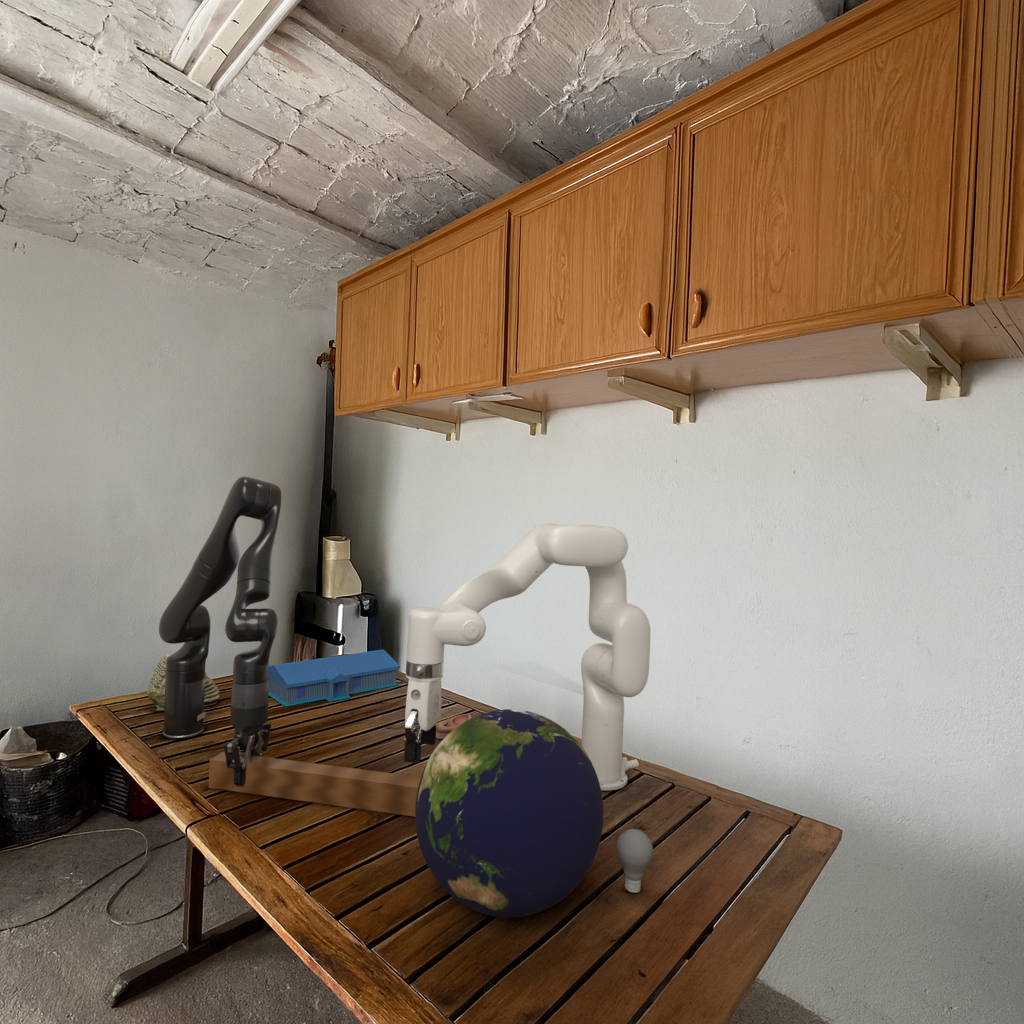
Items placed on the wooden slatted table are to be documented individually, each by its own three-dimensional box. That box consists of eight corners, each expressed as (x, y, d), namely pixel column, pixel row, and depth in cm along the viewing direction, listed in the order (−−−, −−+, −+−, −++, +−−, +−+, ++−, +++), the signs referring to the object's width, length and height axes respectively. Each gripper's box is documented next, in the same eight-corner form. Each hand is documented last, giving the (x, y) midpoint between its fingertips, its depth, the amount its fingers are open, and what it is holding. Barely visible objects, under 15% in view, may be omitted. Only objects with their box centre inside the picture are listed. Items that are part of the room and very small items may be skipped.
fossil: (144, 707, 182) (145, 655, 182) (212, 696, 194) (213, 647, 194) (151, 716, 175) (153, 662, 175) (221, 703, 188) (223, 653, 188)
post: (208, 787, 136) (209, 759, 136) (222, 778, 140) (223, 751, 140) (452, 822, 126) (453, 791, 126) (458, 811, 130) (459, 781, 130)
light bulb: (610, 879, 108) (613, 822, 108) (644, 879, 109) (647, 822, 109) (619, 902, 102) (622, 840, 102) (655, 901, 103) (658, 840, 103)
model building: (289, 709, 186) (291, 675, 185) (258, 688, 204) (259, 657, 204) (403, 687, 212) (405, 657, 212) (366, 670, 230) (368, 643, 230)
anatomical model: (416, 721, 169) (430, 707, 181) (415, 736, 169) (429, 721, 181) (463, 727, 167) (475, 713, 178) (463, 742, 167) (474, 727, 178)
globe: (373, 928, 94) (381, 727, 93) (463, 833, 121) (470, 677, 121) (566, 996, 82) (577, 768, 82) (617, 874, 110) (625, 703, 109)
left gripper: (245, 713, 128) (242, 797, 129) (283, 693, 143) (281, 768, 143) (212, 710, 130) (209, 792, 130) (253, 689, 144) (250, 764, 144)
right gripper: (429, 682, 120) (424, 772, 120) (454, 661, 137) (449, 739, 137) (391, 678, 121) (386, 767, 121) (420, 657, 138) (416, 735, 138)
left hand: (247, 779), depth 137 cm, fingers closed on post, 4 cm apart
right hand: (420, 752), depth 129 cm, fingers open, 9 cm apart
